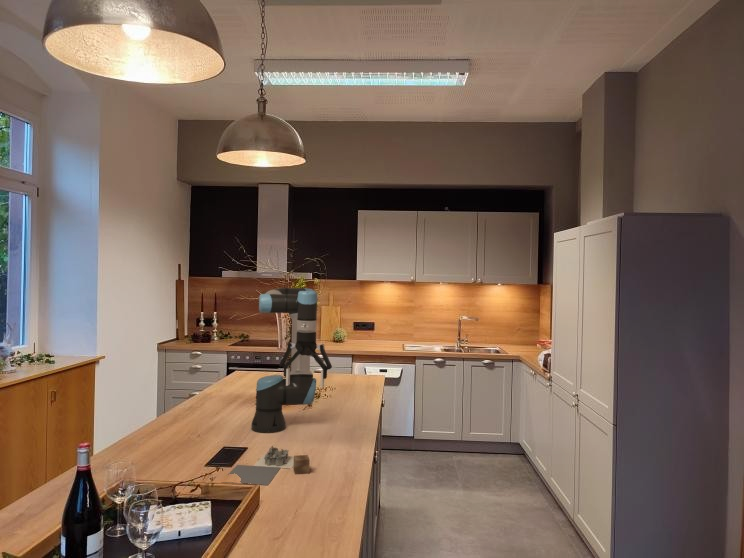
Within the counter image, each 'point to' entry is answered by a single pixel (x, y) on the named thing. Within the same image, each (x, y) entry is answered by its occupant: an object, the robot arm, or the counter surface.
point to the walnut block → (301, 464)
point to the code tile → (287, 464)
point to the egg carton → (276, 456)
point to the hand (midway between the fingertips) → (304, 386)
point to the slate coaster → (255, 474)
